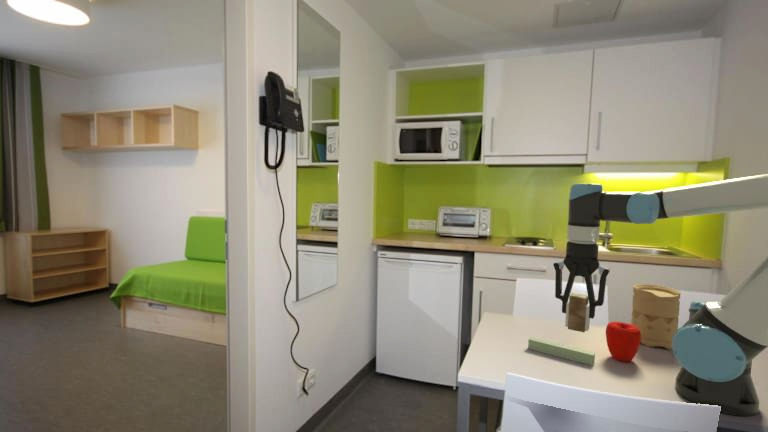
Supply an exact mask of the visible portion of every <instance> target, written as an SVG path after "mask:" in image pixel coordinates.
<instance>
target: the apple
mask: <svg viewBox="0 0 768 432" xmlns="http://www.w3.org/2000/svg"><path fill="white" fill-rule="evenodd" d="M605 337H606V338H605V340H606V345H607V349H608V352H609V353H610V355H611V357H612V358H613V359H615V360H617V361H620V362H623V363H624V362H626V363H627V362H628V363H629V362H632V361H633V359H634V358H635V356H636V355H637V353H638V351H639V349H640V346H641V344H642V343H641V332H640V329H639V328H637V327H636V326H634V325H631V323H627V322H621V321H611V322H608V324H606V328H605Z"/></svg>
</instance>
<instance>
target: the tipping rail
mask: <svg viewBox="0 0 768 432" xmlns="http://www.w3.org/2000/svg"><path fill="white" fill-rule="evenodd" d="M527 346H528V347H527V348H528V350H532V351H536V352H538V353H543V354H547V355H549V356H550V355H551V356H555V357H559V358H563V359H567V360H569V361H570V360H571V361H574V362H577V363H582V364H585V365H589V366H594V365H595V358H596V352H594V351H590V350H585V349H581V348H579V347H577V348H576V347H574V346H570V345H564V344H560V343H557V342H553V341H548V340H545V339H541V338H535V337H532V336H530V337H529V338H528V344H527Z"/></svg>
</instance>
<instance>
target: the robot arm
mask: <svg viewBox="0 0 768 432" xmlns="http://www.w3.org/2000/svg"><path fill="white" fill-rule="evenodd" d="M764 209H765V210H766V209H768V173H765V174H764V173H763V174H758V175H750V176H745V177H738V178H731V179H725V180H718V181H711V182H705V183H703V182H702V183H698V184H689V185H685V186H677V187H669V188H665V189H657V190H651V191H606V190H605V191H604V189H603V185H602V184H600V183H574V184H572V185H571V186H570V189H569V198H568V220H567V221H568V222H567V230H566V239H567V240H568V241H567V242H566V251H565V257H564V259H563V260H562V261H555V262H554V263H553V268H554V270H555V283H554V284H555V290H554V291H555V292H554V296H555V298H556V299H559V300H560V301H561V302H562V303H561V313H562V314H565V322H564V323H565V324H564V325H565V326H564V327H567V328H568V315H569V298H570V295H571V294H572V293H571V292H572V288H573V285H574V282H575V278H576V277H582V278H584V281H585V286H586V292H587V296H588V305H587V306H586V319H585V332H588V331H589V329H590V322H591V321H590V320H591V319H592V320H593V319H595V316H596V307H602V306H603V305H604V301H605V295H606V284H607V277H608V275H609V273H610V271H611V269H610V268H608V267H605V266H603V265H601V264H600V262H599V244H598V243H599V241H600V229H601V228H600V226H601V221H602V222H616V223H617V222H618V223H628V224H635V225H638V224H639V225H643V224H645V225H646V224H648V225H651V224H654V223H656V221H657V220H663V219H671V218H672V219H673V218H682V217H692V216H702V215H713V214H724V213H733V212H735V213H736V212H744V211H753V210H764ZM597 242H598V243H597ZM564 266H565V267H564ZM564 268H566V269H567V271H569V274H568V279H567V283H566V285H565V289H564V291H563V269H564ZM597 270H598V274H599V275H600V277H599V285H598V292H597V293H598V294H597V299H596V296H595V290H594V285H593V277H592V275H593V274H594V273H595V272H596V271H597ZM562 292H563V293H562ZM688 311H689V316H688V320H687V321H686V322H685V323H684V324H683V325H682V326H681V327H678V330H677V331H676V332H675V334H674V337H673V340H672V349H671V350H672V353H673V355H674V358H675V359H676V361H678V363H679V364H680V366H681V368H680V370H679V372H678V373H677V374H676V377H675V381H674V382H675V385H674V388H675V390H676V391H677V393H678V394H679V395H681V396H682V397H683V398H685V399H687V400H688V401H690V402H692V403H694V404H696V403H700V404H709V405H718V406H721V412H720V413H723V414H727V415H732V416H738V417H739V416H740V417H751V416H755V415H757V414H759V410H760V399H759V396H758V394H757V390H756V387H755V384H754V382H753V379H752V363H753V360H755V358H756V357H757V356H758V355H760V354H761V353H762V352H763V351H764V350H765V349H766V348H768V254H767V255H766V256H765V257H764V258H763V259H762V260H761V261H760V262H759V263H758V264H757V265H756V266H755V267H753V269H752V270H750V271H749V273H748V274H747V275H746V276H744V278H743V279H741V280H740V281H739V282H738V283H737V284H736V286H734V288H732V290H730V291H729V292H728V293H727V294H726V295H725V296H724V297H723V298H722V299H721V300H719V301H705V300H694V301H691V303H690V306H689V308H688Z"/></svg>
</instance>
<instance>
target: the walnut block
mask: <svg viewBox="0 0 768 432" xmlns="http://www.w3.org/2000/svg"><path fill="white" fill-rule="evenodd" d="M568 301H569V315H568V327H567V330H571V331H576V332H581V333H585V332H586V331H585V319H586V306H587V305H588V304H589V299H588V294H582V293H576V292H574V293H570V296H569V299H568Z"/></svg>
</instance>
